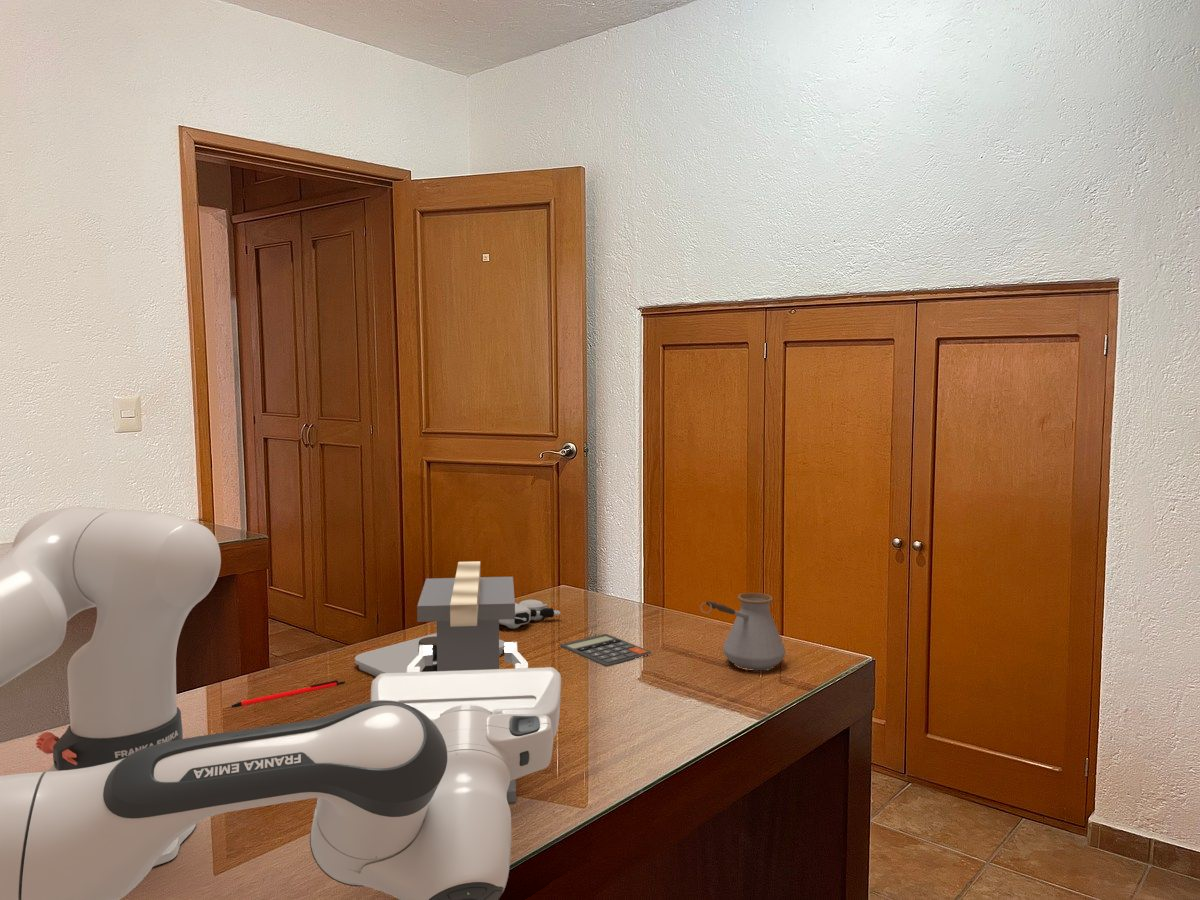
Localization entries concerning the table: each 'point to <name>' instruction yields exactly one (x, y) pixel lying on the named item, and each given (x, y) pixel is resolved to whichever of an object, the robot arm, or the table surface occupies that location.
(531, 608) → the robot toy
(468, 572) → the maple bar
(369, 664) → the tablet
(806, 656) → the table surface
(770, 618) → the coffee pot
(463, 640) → the charcoal stand
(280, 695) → the pen
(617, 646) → the calculator
